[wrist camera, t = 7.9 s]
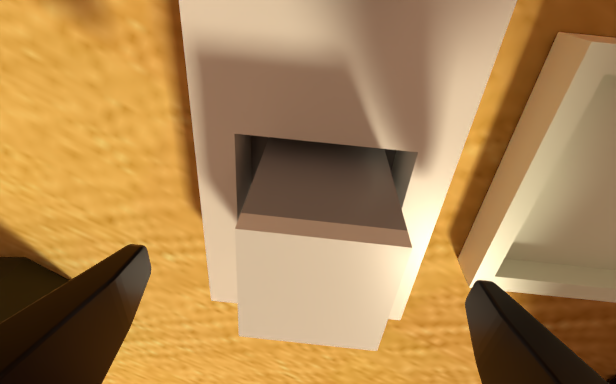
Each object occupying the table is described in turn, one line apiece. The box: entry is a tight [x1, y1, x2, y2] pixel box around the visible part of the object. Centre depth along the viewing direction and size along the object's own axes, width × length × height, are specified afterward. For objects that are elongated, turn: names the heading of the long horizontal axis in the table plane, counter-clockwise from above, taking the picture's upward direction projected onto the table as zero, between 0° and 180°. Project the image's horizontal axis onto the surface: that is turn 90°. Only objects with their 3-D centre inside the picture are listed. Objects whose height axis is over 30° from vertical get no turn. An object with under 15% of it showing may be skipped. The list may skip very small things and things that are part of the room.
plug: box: [235, 137, 412, 351], centre depth 11 cm, size 4×4×6 cm
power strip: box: [179, 0, 517, 320], centre depth 9 cm, size 20×8×6 cm, turn 175°
